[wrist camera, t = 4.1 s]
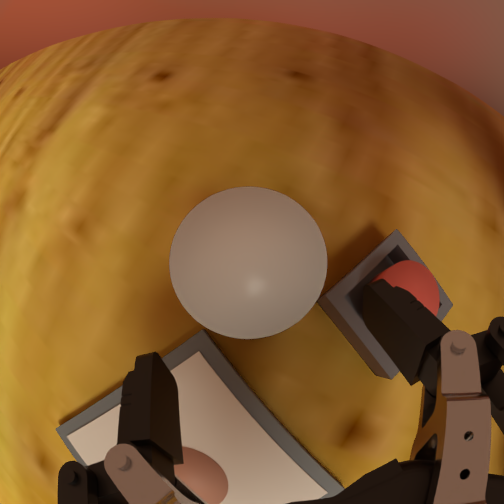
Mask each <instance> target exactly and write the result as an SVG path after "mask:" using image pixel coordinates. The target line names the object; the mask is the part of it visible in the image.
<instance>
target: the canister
mask: <svg viewBox="0 0 504 504" xmlns="http://www.w3.org/2000/svg"><path fill="white" fill-rule="evenodd" d="M169 269H170V277H171V281H172V285H173V288H174V290H175V293H176V295H177V297H178V299H179V300H180V302H181V304H182V305H183V307H184V308H185V309H186V311H187V312H188V313H189V314H190V315H191V316H192V317H193V318H194V319H195V320H196V321H198V322H199V323H200V324H202V325H203V326H204V327H206V328H208V329H210V330H212V331H214V332H216V333H219V334H221V335H224V336H228V337H233V338H239V339H257V338H263V337H268V336H272V335H274V334H277V333H280V332H282V331H284V330H286V329H288V328H290V327H291V326H293V325H294V324H296V323H297V322H298V321H300V320H301V319H302V318H303V317H304V316H305V315H306V314H307V313H308V312H309V311H310V309H311V308H312V307H313V306H314V304H315V302H316V301H317V299H318V297H319V296H320V293H321V291H322V289H323V286H324V282H325V279H326V273H327V252H326V246H325V242H324V239H323V236H322V234H321V232H320V229H319V227H318V226H317V224H316V222H315V221H314V219H313V218H312V217H311V216H310V214H309V213H308V212H307V211H306V210H305V209H304V208H303V207H302V206H301V205H300V204H298V203H297V202H296V201H294V200H293V199H291V198H289V197H288V196H286V195H284V194H281V193H279V192H277V191H274V190H270V189H266V188H261V187H237V188H231V189H227V190H224V191H221V192H218V193H216V194H214V195H212V196H210V197H208V198H206V199H205V200H203V201H202V202H200V203H199V204H198V205H197V206H195V207H194V208H193V209H192V210H191V211H190V212H189V213H188V215H187V216H186V217H185V218H184V220H183V221H182V223H181V224H180V226H179V228H178V229H177V232H176V234H175V236H174V239H173V242H172V245H171V250H170V257H169Z"/></svg>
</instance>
